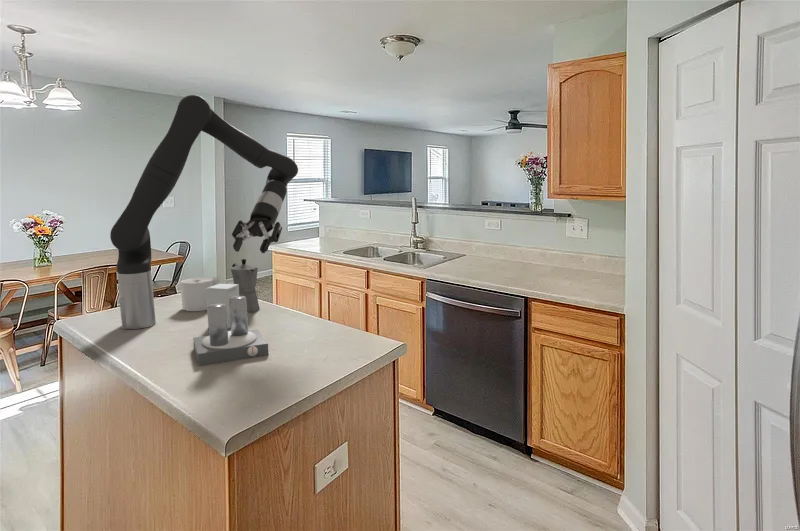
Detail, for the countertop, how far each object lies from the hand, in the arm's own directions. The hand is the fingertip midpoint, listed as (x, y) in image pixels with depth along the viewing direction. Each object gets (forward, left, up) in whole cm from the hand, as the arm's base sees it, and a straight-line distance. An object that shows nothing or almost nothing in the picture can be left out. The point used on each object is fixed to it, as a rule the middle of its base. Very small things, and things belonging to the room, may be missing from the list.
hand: (248, 250), depth 144 cm
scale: (-9, -15, -24) cm, 30 cm away
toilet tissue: (-12, +38, -25) cm, 47 cm away
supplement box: (-7, +11, -25) cm, 28 cm away
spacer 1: (-12, -18, -21) cm, 30 cm away
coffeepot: (+2, +28, -25) cm, 37 cm away
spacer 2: (-6, -12, -21) cm, 25 cm away
